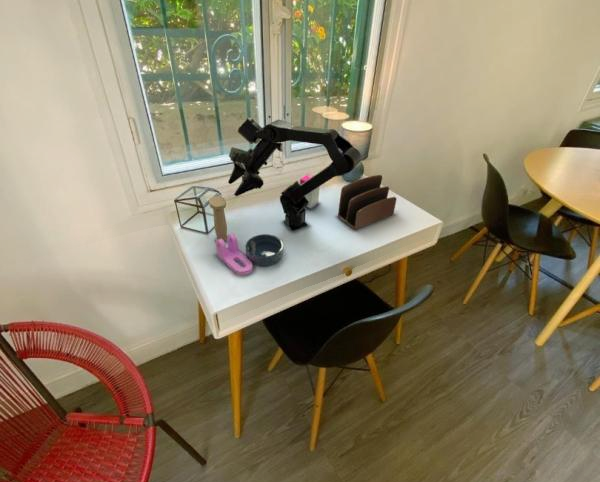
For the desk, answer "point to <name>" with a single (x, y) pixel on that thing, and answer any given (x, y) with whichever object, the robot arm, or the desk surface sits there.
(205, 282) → the desk surface
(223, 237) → the handle
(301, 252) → the desk surface
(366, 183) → the letter holder
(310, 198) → the supplement box
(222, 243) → the bracket
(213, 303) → the desk surface
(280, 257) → the dark grey ring
